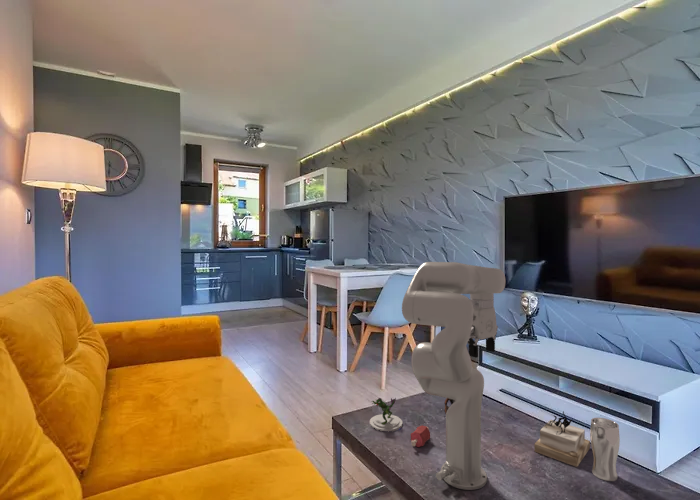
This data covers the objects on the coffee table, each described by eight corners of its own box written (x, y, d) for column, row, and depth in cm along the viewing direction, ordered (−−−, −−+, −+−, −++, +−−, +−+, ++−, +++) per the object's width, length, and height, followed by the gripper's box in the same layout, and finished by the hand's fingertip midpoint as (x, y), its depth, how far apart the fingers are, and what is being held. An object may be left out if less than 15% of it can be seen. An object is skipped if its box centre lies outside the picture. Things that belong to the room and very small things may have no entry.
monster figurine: (363, 420, 144) (363, 393, 144) (390, 413, 150) (390, 387, 149) (380, 435, 133) (380, 406, 133) (409, 427, 139) (408, 398, 139)
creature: (552, 439, 119) (578, 434, 118) (548, 422, 119) (574, 417, 118) (541, 426, 127) (565, 421, 126) (537, 411, 127) (561, 406, 126)
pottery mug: (476, 419, 145) (469, 403, 142) (454, 430, 145) (446, 415, 142) (463, 398, 156) (456, 383, 154) (442, 409, 156) (435, 394, 154)
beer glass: (625, 479, 107) (625, 426, 107) (606, 484, 105) (606, 430, 105) (602, 465, 114) (602, 415, 113) (584, 470, 112) (584, 419, 111)
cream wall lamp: (577, 468, 113) (577, 445, 113) (534, 453, 122) (534, 431, 122) (589, 450, 123) (589, 428, 123) (549, 436, 132) (549, 416, 131)
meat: (421, 452, 121) (417, 436, 122) (408, 451, 124) (403, 436, 125) (436, 435, 131) (432, 421, 132) (423, 435, 134) (419, 421, 134)
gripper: (476, 308, 122) (476, 361, 123) (506, 302, 133) (506, 351, 133) (456, 305, 128) (457, 356, 129) (486, 299, 139) (487, 346, 139)
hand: (482, 353), depth 131 cm, fingers open, 9 cm apart
